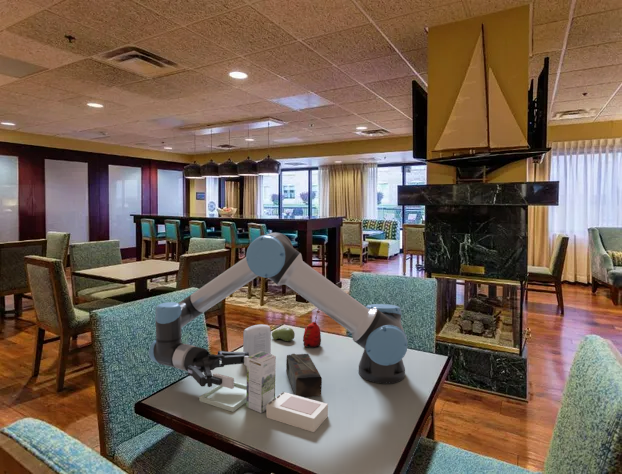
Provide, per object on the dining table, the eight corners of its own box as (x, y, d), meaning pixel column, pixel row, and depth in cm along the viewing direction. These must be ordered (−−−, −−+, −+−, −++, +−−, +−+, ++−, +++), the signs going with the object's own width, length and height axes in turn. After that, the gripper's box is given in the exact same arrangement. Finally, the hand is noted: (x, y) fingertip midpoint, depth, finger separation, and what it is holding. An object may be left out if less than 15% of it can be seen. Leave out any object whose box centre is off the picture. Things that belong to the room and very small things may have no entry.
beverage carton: (308, 369, 132) (309, 350, 131) (322, 397, 113) (322, 375, 113) (285, 371, 130) (285, 352, 130) (295, 400, 112) (295, 378, 111)
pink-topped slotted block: (266, 417, 102) (266, 403, 102) (282, 403, 109) (282, 390, 109) (313, 432, 96) (313, 417, 95) (327, 416, 103) (327, 402, 102)
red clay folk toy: (305, 341, 158) (305, 305, 157) (322, 342, 157) (323, 306, 156) (301, 348, 151) (301, 310, 150) (319, 349, 150) (319, 311, 148)
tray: (199, 401, 110) (199, 396, 110) (227, 383, 121) (227, 379, 121) (233, 411, 105) (233, 407, 105) (259, 392, 115) (259, 388, 115)
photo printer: (267, 353, 145) (267, 321, 144) (272, 357, 142) (272, 324, 141) (241, 359, 140) (241, 326, 138) (246, 363, 136) (246, 329, 135)
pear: (289, 330, 155) (268, 330, 160) (291, 343, 155) (270, 343, 160) (295, 326, 160) (275, 326, 165) (297, 338, 160) (277, 338, 165)
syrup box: (260, 399, 112) (260, 350, 110) (275, 405, 108) (275, 354, 107) (246, 407, 107) (245, 356, 106) (261, 414, 104) (261, 361, 102)
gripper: (219, 356, 130) (273, 369, 120) (159, 388, 108) (218, 407, 98) (219, 334, 129) (273, 346, 119) (158, 361, 107) (218, 378, 97)
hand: (248, 373), depth 108 cm, fingers open, 13 cm apart
